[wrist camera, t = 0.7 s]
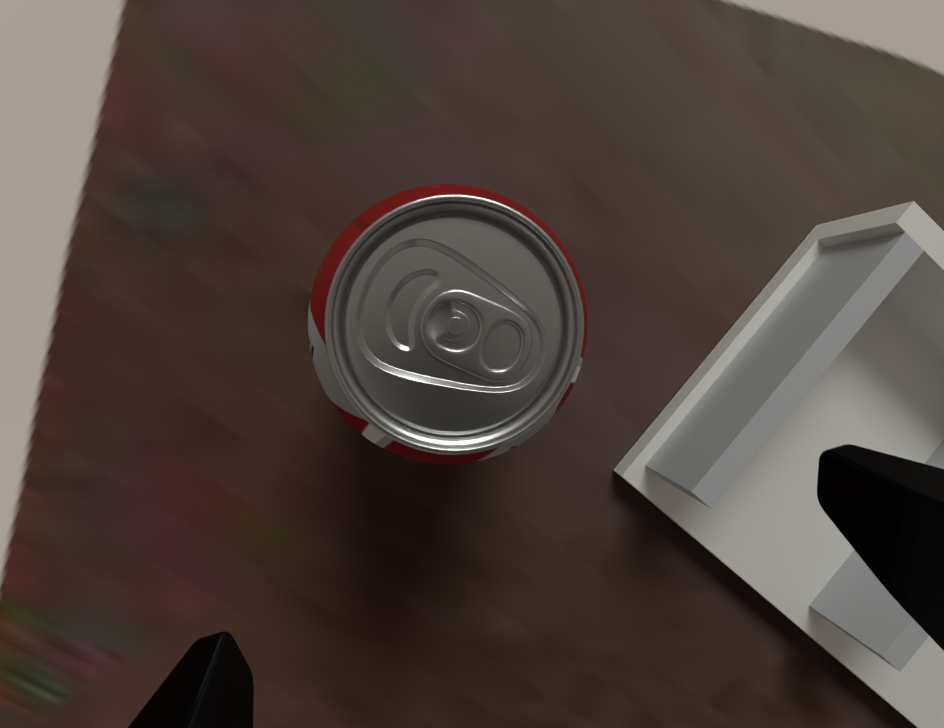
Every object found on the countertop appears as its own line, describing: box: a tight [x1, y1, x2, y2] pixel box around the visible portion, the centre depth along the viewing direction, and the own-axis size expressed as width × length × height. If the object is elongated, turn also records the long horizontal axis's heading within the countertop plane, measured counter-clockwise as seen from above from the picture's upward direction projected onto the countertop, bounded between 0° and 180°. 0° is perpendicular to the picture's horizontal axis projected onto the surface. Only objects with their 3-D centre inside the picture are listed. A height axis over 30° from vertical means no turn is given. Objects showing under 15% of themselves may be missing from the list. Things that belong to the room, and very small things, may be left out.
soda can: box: [308, 184, 587, 464], centre depth 18 cm, size 7×7×12 cm
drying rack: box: [614, 201, 944, 728], centre depth 24 cm, size 14×22×5 cm, turn 50°
